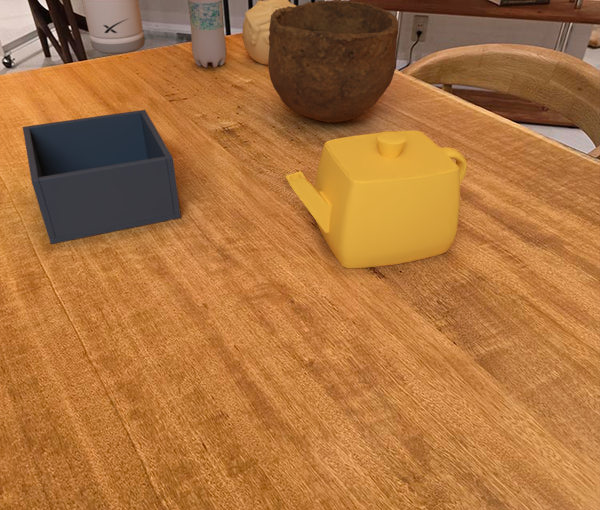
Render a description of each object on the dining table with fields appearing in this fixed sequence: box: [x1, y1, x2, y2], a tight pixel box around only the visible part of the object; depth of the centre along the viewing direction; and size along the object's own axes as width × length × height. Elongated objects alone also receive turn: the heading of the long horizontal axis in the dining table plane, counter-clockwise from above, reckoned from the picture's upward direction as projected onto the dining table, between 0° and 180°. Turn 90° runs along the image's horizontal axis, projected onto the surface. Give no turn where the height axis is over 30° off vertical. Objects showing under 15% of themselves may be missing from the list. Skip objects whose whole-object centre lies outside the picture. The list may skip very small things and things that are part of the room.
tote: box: [22, 109, 182, 245], centre depth 69 cm, size 14×14×8 cm
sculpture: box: [241, 0, 297, 66], centre depth 109 cm, size 11×12×11 cm
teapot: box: [284, 130, 468, 269], centre depth 62 cm, size 20×12×12 cm, turn 106°
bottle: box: [187, 0, 227, 69], centre depth 104 cm, size 7×7×20 cm
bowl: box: [267, 0, 400, 123], centre depth 87 cm, size 19×19×15 cm
